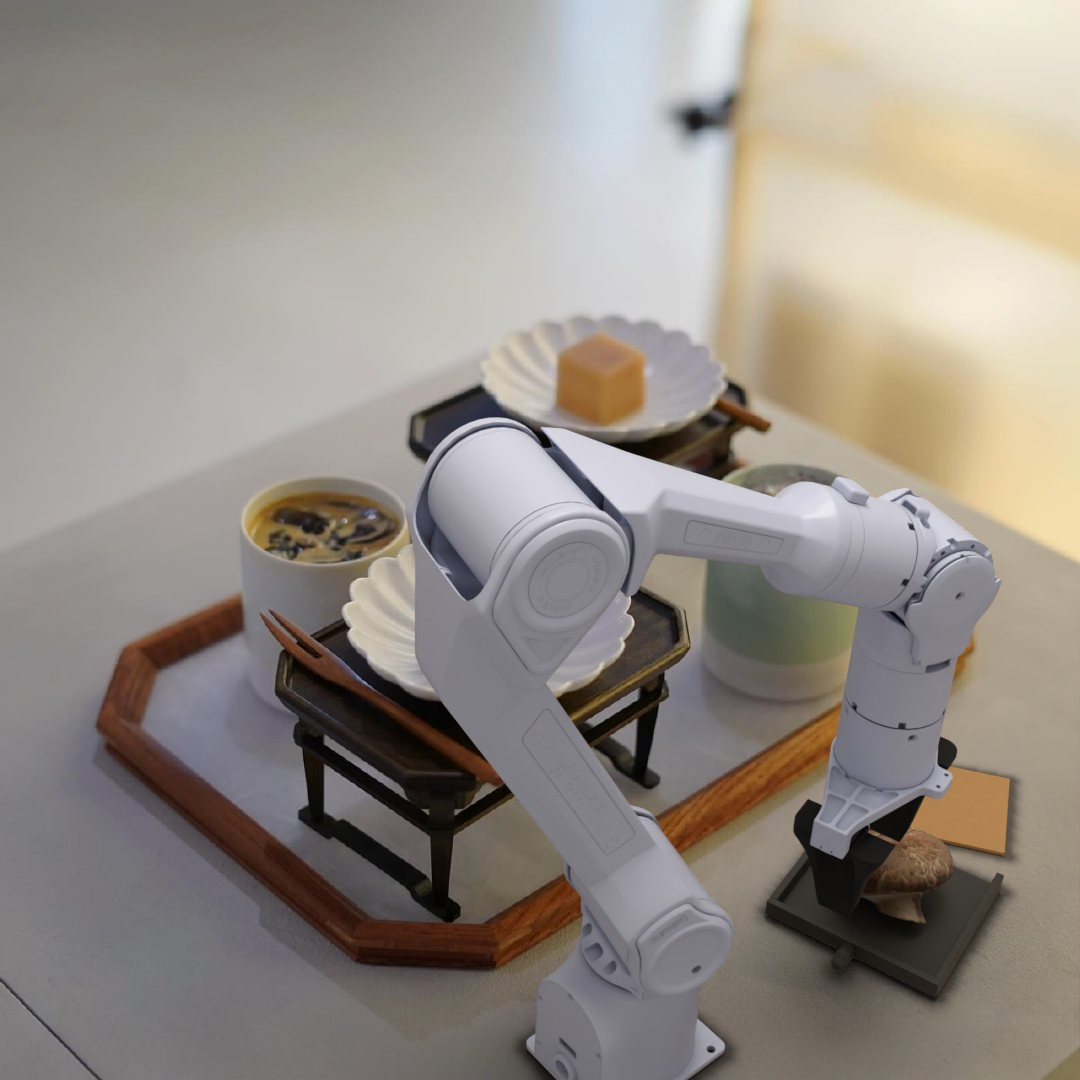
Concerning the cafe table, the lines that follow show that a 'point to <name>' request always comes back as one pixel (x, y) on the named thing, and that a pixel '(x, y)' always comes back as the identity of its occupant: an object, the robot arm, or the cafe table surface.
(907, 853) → the mushroom
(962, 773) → the mat
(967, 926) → the pan
